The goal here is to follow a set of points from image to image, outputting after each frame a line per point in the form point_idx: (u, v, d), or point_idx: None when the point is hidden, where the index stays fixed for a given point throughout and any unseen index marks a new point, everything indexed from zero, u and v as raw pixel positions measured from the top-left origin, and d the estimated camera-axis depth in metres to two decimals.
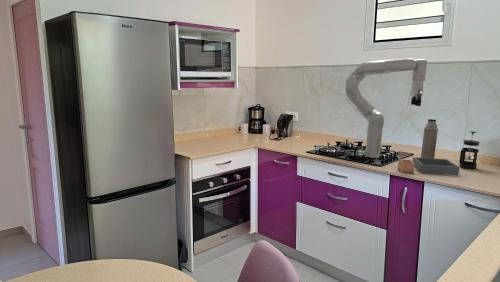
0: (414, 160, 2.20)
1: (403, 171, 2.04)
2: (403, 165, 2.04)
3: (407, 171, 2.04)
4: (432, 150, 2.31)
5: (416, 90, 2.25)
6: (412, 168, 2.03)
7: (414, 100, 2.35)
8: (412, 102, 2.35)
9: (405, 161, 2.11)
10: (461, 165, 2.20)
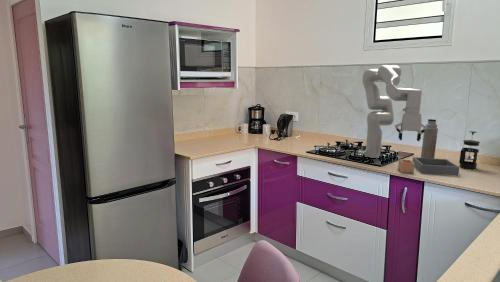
0: (414, 160, 2.20)
1: (403, 171, 2.04)
2: (403, 165, 2.04)
3: (407, 171, 2.04)
4: (432, 150, 2.31)
5: (421, 124, 2.01)
6: (412, 168, 2.03)
7: None
8: (401, 137, 2.05)
9: (405, 161, 2.11)
10: (461, 165, 2.20)
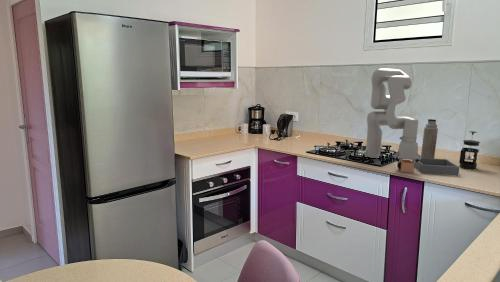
0: None
1: (403, 171, 2.05)
2: (403, 165, 2.04)
3: (407, 171, 2.04)
4: (432, 150, 2.31)
5: (417, 153, 2.04)
6: (412, 168, 2.03)
7: None
8: (400, 166, 2.08)
9: (405, 161, 2.11)
10: (461, 165, 2.20)
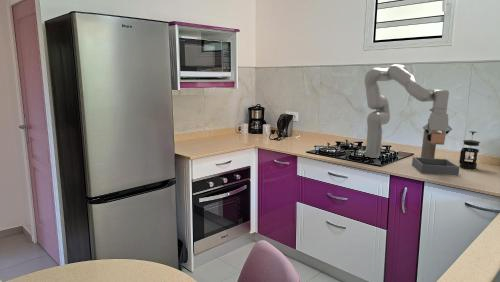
0: (414, 160, 2.20)
1: (433, 142, 2.06)
2: (433, 136, 2.05)
3: (437, 142, 2.05)
4: (432, 150, 2.31)
5: None
6: (442, 139, 2.04)
7: None
8: None
9: (435, 133, 2.12)
10: (461, 165, 2.20)
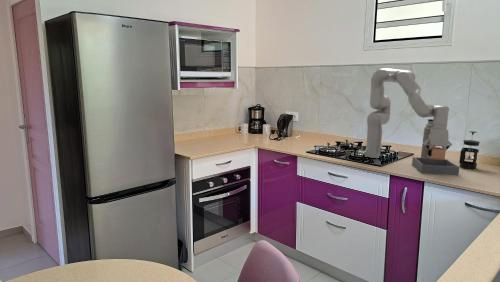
0: (414, 160, 2.20)
1: (434, 158, 2.08)
2: (434, 152, 2.07)
3: (438, 158, 2.07)
4: None
5: None
6: (443, 155, 2.06)
7: None
8: (430, 153, 2.11)
9: (435, 148, 2.14)
10: (461, 165, 2.20)
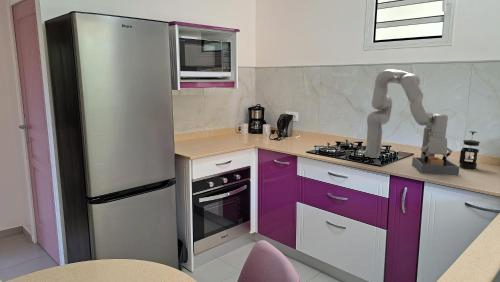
0: (414, 160, 2.20)
1: None
2: (432, 162, 2.08)
3: None
4: None
5: (446, 148, 2.08)
6: (441, 165, 2.08)
7: None
8: (427, 160, 2.12)
9: (433, 158, 2.16)
10: (461, 165, 2.20)
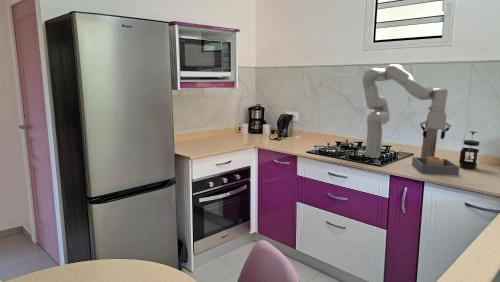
0: (414, 160, 2.20)
1: None
2: (432, 162, 2.08)
3: None
4: (432, 150, 2.31)
5: (445, 123, 2.07)
6: (441, 165, 2.08)
7: None
8: None
9: (433, 158, 2.16)
10: (461, 165, 2.20)
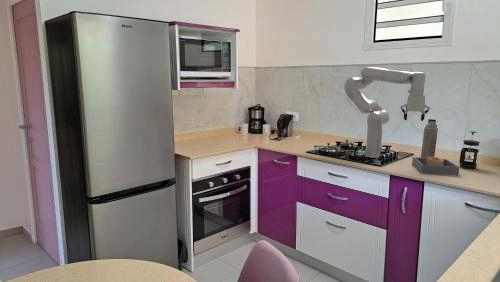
0: (414, 160, 2.20)
1: None
2: (432, 162, 2.08)
3: None
4: (432, 150, 2.31)
5: (424, 105, 2.15)
6: (441, 165, 2.08)
7: None
8: (406, 117, 2.19)
9: (433, 158, 2.16)
10: (461, 165, 2.20)
